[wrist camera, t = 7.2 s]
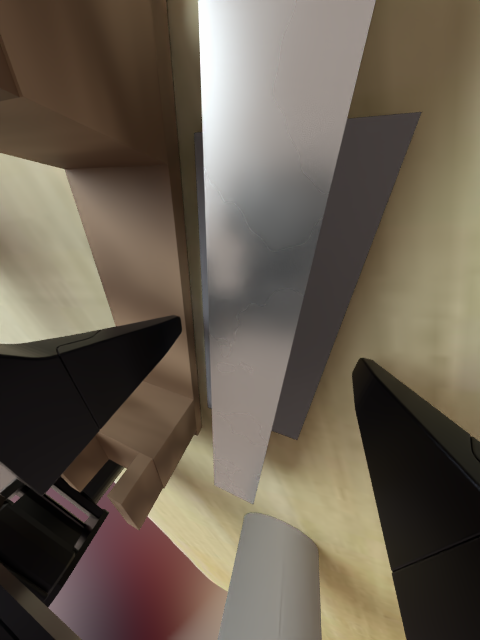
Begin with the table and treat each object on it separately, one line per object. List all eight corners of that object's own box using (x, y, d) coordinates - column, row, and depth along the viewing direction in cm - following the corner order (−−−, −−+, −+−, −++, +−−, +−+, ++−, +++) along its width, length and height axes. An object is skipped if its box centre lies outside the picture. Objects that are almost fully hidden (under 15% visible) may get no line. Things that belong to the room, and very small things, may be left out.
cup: (244, 503, 21) (188, 749, 11) (325, 541, 19) (347, 907, 9) (244, 529, 25) (203, 725, 15) (310, 562, 23) (314, 827, 13)
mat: (297, 434, 13) (297, 440, 12) (210, 403, 14) (207, 407, 14) (413, 120, 5) (421, 111, 5) (199, 137, 7) (193, 132, 7)
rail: (262, 457, 15) (253, 504, 12) (229, 443, 15) (214, 485, 13) (409, -181, 3) (738, -1498, 1) (256, -112, 4) (176, -661, 2)
